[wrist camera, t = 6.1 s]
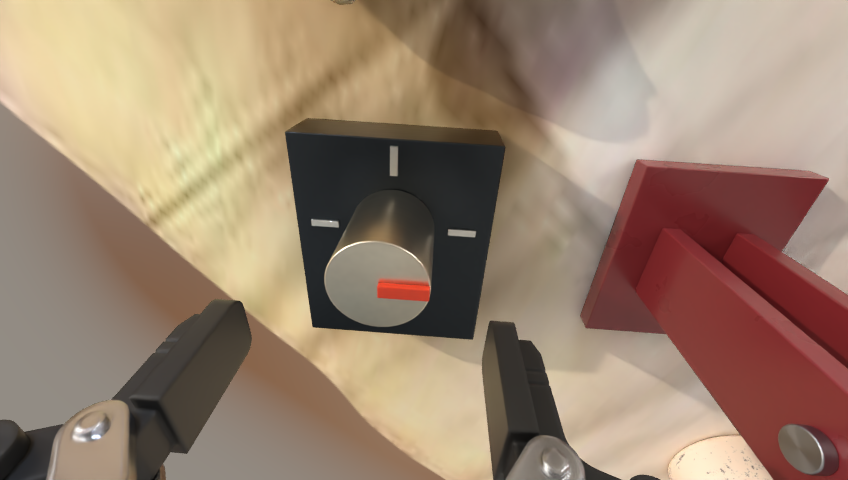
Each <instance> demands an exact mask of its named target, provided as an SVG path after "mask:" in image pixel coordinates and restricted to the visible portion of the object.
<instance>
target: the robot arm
mask: <svg viewBox="0 0 848 480" xmlns="http://www.w3.org/2000/svg"><path fill="white" fill-rule="evenodd" d="M251 340H252V337H251V332H250V328H249V324H248V321H247V317H246V314H245V310H244V306H243V304H242V302H241V301H235V300H221V299H215V300H213V301H211V302H210V304H209V305H208V306H207V307H206V308H205V309H204V310H203V312H202V313H201V314H195V315H193V316H192V317H190V318H189V319H187V320H185V321H184V322H182V323H181V324H180V325H178V326H177V327H176V328H175V329H174V331H173V332H172V333H171V334H170V335H169V336H168V337H167V338H166V341H165V342H163V343H162V344H161V345H160V346H159V347H158V348H157V349H156V352H155V353H153V354H152V355H151V356H150V357H149V358H148V360H147V361H146V362H145V363H144V364H143V365H142V366H141V367H140V369H139V370H138V371H137V372H136V373H135V374H134V375H133V376H132V377H131V379H130V380H129V381H128V382H127V383H126V384H125V385H124V386H123V388H122V389H121V390H120V391H119V392H118V393H117V394H116V395H115V396H114V397H113V398H112V399H111V400H106V401H102V402H98V403H95V404H93V405H91V406H89V407H87V408H85V409H83V410H81V411H80V412H78V413H76V414H75V415H74V416H72V417H71V418H70V419H69V420H68V421H67V422H65V424H61V425H56V426H51V427H46V428H42V429H37V430H32V431H27V432H24V431H23V430H22V429H21V428H20V427H19V426H18V425H17V424H16V423H15V422H14V421H11V420H0V480H166V476H165V467H164V464H163V463H164V461H165V460H166V458H167V457H168V455H169V453H170V452H175V453H186V454H187V453H188V451H189V450H190V448H191V446H192V445H193V443H194V441H195V440H196V438H197V436H198V435H199V433H200V431H201V430H202V428H203V427H204V425H205V423H206V422H207V420H208V418H209V417H210V415H211V413H212V412H213V410H214V408H215V407H216V405H217V403H218V402H219V400H220V399H221V397H222V395H223V393H224V392H225V390H226V389H227V387H228V385H229V384H230V382H231V380H232V379H233V377H234V375H235V374H236V372H237V371H238V369H239V367H240V365H241V364H242V362H243V360H244V359H245V357H246V356H247V354H248V352H249V349H250V346H251ZM482 375H483V384H484V394H485V403H486V413H487V423H488V432H489V442H490V452H491V461H492V471H493V480H621V479H619V478H616V477H614V476H611V475H609V474H607V473H604V472H602V471H599V470H597V469H595V468H593V467H591V466H590V465H588V464H587V463H585V462H584V461H583V460H581V459H580V458H579V456H578V455H577V453H576V452H575V451H574V450H573V449H572V448H571V447H570V446H569V444H568V442H567V440H566V438H565V436H564V433H563V429H562V426H561V422H560V419H559V415H558V412H557V408H556V405H555V401H554V398H553V395H552V391H551V388H550V386H549V381H548V377H547V374H546V373H545V367H544V363H543V360H542V356H541V354H540V353H539V351H538V350H537V349H536V347H535V346H534V345H533V343H532V342H531V341H527V340H518V336H517V331H516V327H515V324H514V323H513V322H500V321H490V322H489V326H488V331H487V336H486V341H485V346H484V351H483V358H482ZM630 480H660V479H658V478H655V477H653V476H649V475H637V476H634V477H632V478H631V479H630Z"/></svg>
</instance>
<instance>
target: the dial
mask: <svg viewBox="0 0 848 480" xmlns="http://www.w3.org/2000/svg"><path fill="white" fill-rule="evenodd" d="M433 246H434V221H433V218H432V215H431V213H430V211H429V210H428V208H427V207H426V206H425V205H424V203H423V202H421V201H420V200H419V199H418V198H416V197H415V196H413V195H411V194H409V193H406V192H403V191H399V190H382V191H378V192H375V193H373V194H371V195H369V196H367V197H366V198H365V199H363V200H362V201H361V202H360V203H359V205H358V206H357V208H356V210H355V212H354V214H353V216H352V218H351V220H350V222H349V223H348V225H347V227H346V229H345V231H344V233H343V235H342V237H341V239H340V241H339V243H338V245H337V247H336V249H335V251H334V253H333V255H332V257H331V259H330V261H329V263H328V265H327V267H326V270H325V275H324V283H325V288H326V291H327V294H328V296H329V298H330V300H331V301H332V303H333V304H334V305H335V307H336V308H337V309H338V310H339V311H341V312H342V313H343V314H344V315H346V316H347V317H349V318H351V319H352V320H354V321H357V322H359V323H362V324H365V325H370V326H376V327H390V326H396V325H400V324H403V323H406V322H408V321H410V320H412V319H413V318H415V317H416V316H417V315H419V314H420V312H421V311H422V310H423V309H424V308H425V306H426V305H427V303H428V302H429V298H430V293H431V280H432V263H433Z"/></svg>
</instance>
